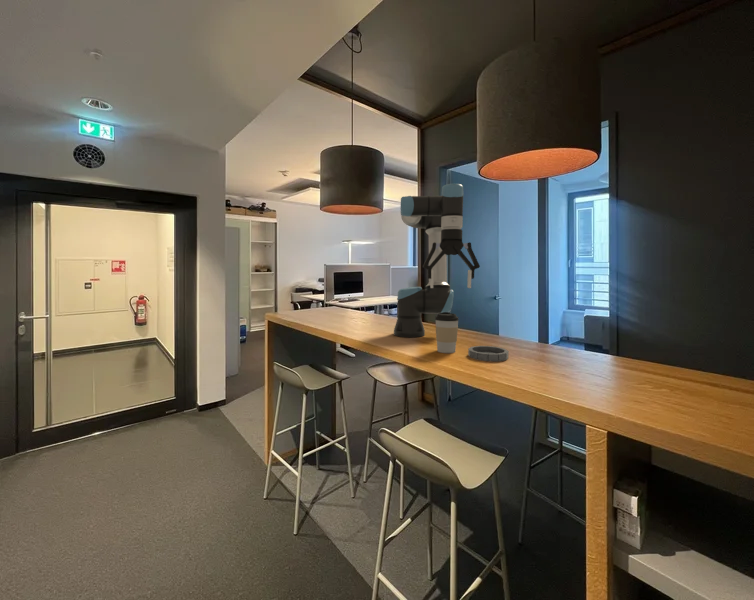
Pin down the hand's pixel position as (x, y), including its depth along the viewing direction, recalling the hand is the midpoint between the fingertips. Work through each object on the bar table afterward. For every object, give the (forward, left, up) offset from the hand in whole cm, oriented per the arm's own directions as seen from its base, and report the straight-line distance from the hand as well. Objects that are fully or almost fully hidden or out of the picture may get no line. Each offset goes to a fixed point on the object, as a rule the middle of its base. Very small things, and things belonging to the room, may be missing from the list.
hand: (450, 287), depth 128 cm
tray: (+1, +14, -25) cm, 29 cm away
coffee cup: (-7, 0, -25) cm, 26 cm away
